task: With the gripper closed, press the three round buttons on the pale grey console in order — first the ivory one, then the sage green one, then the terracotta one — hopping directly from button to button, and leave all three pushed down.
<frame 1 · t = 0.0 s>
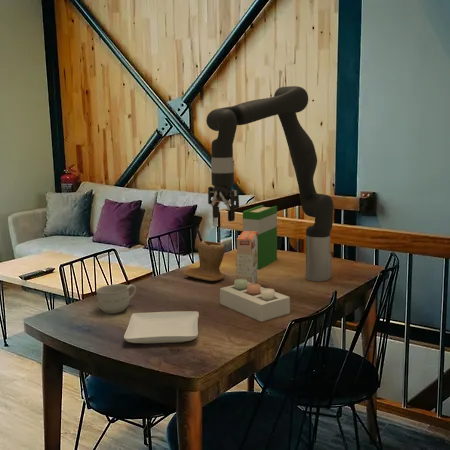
hand: (223, 219, 192), 29 cm above the table, tool pointing down, fingers open, 8 cm apart
cracker box: (247, 290, 212), on the table
terracotta button: (253, 289, 191), point 7 cm above the table, slide at 0.0 cm
ivory button: (267, 294, 185), point 7 cm above the table, slide at 0.0 cm
salad plate: (163, 334, 173), on the table
teacup: (118, 310, 193), on the table
console: (254, 308, 192), on the table
sage button: (240, 284, 196), point 7 cm above the table, slide at 0.0 cm
hardback book: (260, 264, 247), on the table
brown boot: (207, 278, 228), on the table
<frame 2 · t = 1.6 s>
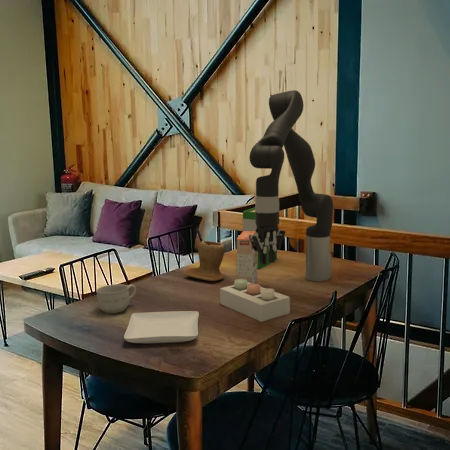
hand: (267, 263, 183), 17 cm above the table, tool pointing down, fingers open, 3 cm apart
nothing on the table moved.
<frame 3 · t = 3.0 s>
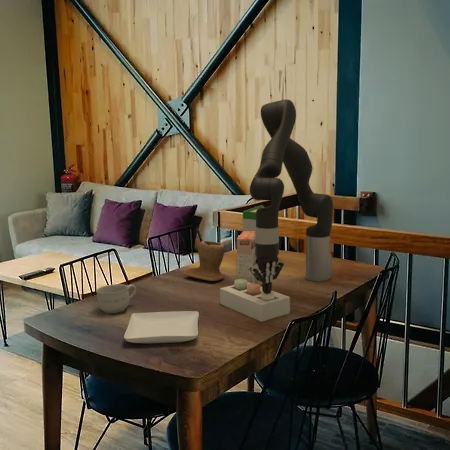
hand: (266, 293, 185), 7 cm above the table, tool pointing down, fingers closed
ivory button: (267, 297, 185), point 6 cm above the table, slide at 0.9 cm, touching gripper
everything else where it was.
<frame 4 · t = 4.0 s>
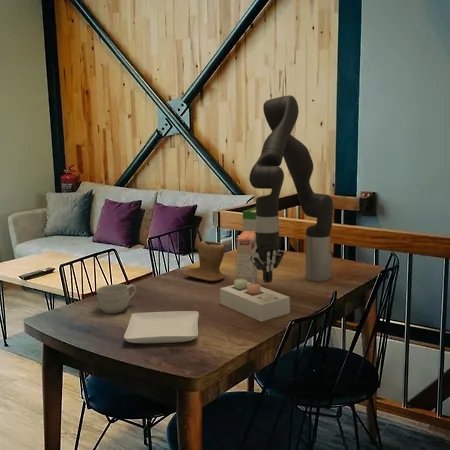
hand: (267, 282, 185), 11 cm above the table, tool pointing down, fingers closed
ivory button: (267, 300, 186), point 5 cm above the table, slide at 1.9 cm
everything else where it was.
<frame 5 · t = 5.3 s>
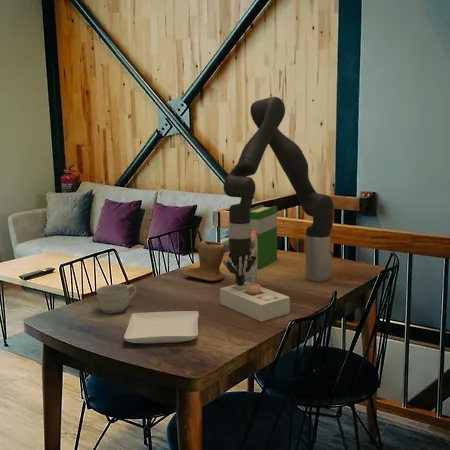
hand: (240, 285, 196), 6 cm above the table, tool pointing down, fingers closed
sage button: (240, 288, 197), point 5 cm above the table, slide at 1.6 cm, touching gripper
everything else where it was.
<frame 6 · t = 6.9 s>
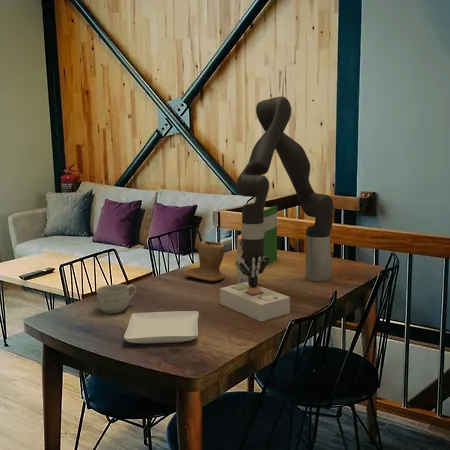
hand: (252, 287, 191), 7 cm above the table, tool pointing down, fingers closed
terracotta button: (253, 290, 191), point 6 cm above the table, slide at 0.6 cm, touching gripper
sage button: (240, 289, 197), point 5 cm above the table, slide at 1.9 cm
everything else where it was.
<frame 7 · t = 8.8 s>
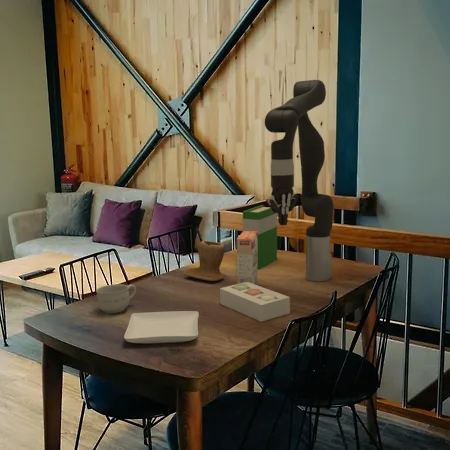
hand: (283, 224, 190), 28 cm above the table, tool pointing down, fingers closed
terracotta button: (253, 294, 191), point 5 cm above the table, slide at 1.9 cm
everything else where it was.
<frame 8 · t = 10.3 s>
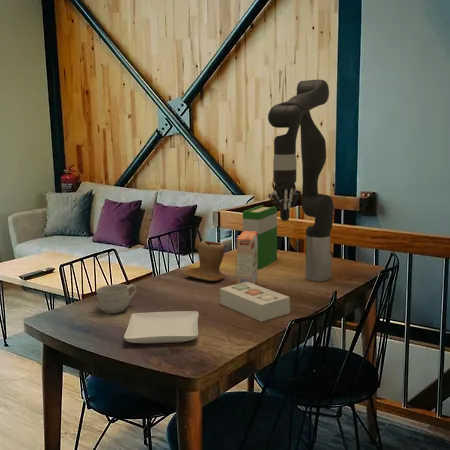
hand: (284, 220, 190), 29 cm above the table, tool pointing down, fingers closed
nothing on the table moved.
at the end: ivory button slide at 1.9 cm; sage button slide at 1.9 cm; terracotta button slide at 1.9 cm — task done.
